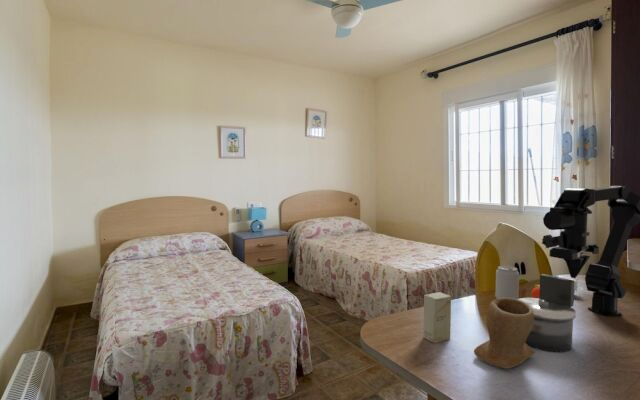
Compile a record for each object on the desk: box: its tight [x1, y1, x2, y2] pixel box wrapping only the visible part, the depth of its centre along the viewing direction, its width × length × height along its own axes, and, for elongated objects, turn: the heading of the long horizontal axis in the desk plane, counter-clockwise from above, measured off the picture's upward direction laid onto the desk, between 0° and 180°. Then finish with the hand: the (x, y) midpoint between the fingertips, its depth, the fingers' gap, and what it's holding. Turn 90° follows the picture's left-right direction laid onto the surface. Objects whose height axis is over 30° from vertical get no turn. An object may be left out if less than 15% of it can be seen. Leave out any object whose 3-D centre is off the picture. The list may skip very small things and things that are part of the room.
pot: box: [525, 318, 574, 353], centre depth 98 cm, size 13×20×8 cm, turn 31°
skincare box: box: [423, 291, 452, 344], centre depth 97 cm, size 6×4×12 cm
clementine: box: [529, 284, 540, 298], centre depth 122 cm, size 8×7×7 cm
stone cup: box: [473, 297, 535, 369], centre depth 85 cm, size 15×12×15 cm
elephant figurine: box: [554, 274, 579, 294], centre depth 134 cm, size 8×10×7 cm
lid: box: [518, 273, 577, 321], centre depth 95 cm, size 14×14×8 cm
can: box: [494, 265, 520, 299], centre depth 128 cm, size 8×8×12 cm
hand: (573, 277), depth 110 cm, fingers closed
